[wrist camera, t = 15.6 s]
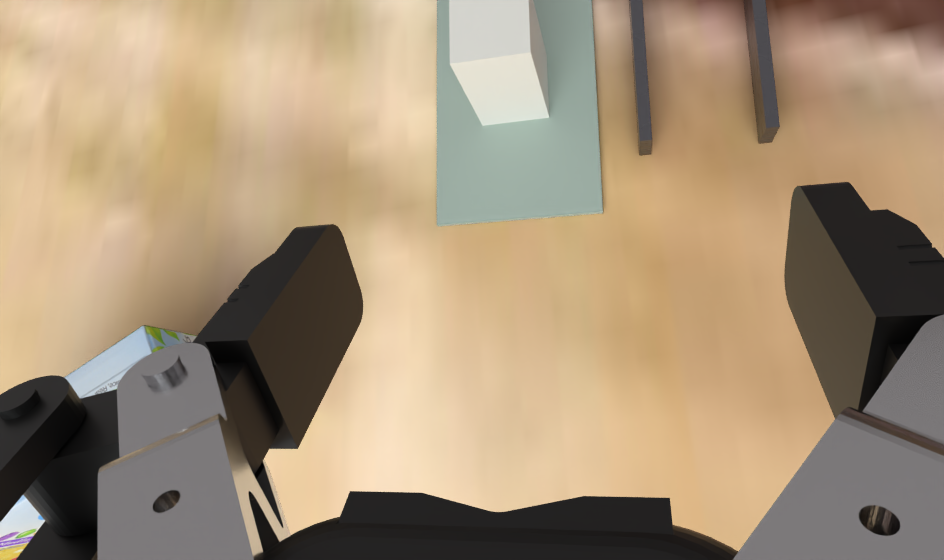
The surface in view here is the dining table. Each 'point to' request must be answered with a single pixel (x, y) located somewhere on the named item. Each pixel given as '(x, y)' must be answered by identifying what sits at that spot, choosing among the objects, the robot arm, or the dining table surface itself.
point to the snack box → (94, 377)
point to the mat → (523, 133)
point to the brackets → (758, 62)
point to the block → (499, 59)
